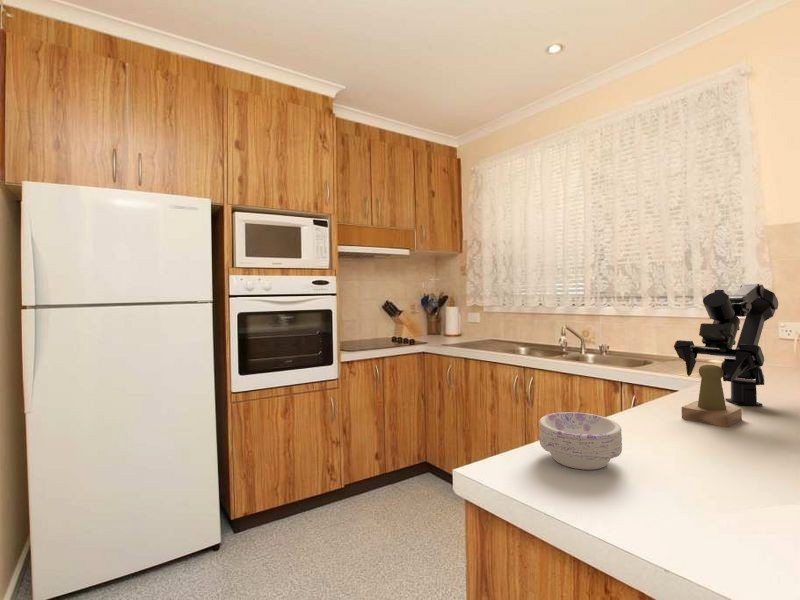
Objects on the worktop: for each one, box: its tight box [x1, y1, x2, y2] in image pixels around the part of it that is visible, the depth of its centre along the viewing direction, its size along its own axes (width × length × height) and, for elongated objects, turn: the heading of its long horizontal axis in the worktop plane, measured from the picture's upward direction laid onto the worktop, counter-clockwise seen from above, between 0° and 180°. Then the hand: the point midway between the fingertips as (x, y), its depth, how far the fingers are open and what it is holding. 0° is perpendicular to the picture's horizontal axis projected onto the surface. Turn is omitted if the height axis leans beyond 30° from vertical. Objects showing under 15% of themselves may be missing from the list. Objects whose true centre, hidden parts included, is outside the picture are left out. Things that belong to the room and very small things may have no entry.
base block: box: [681, 400, 743, 428], centre depth 109 cm, size 10×10×3 cm
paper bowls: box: [538, 411, 623, 471], centre depth 84 cm, size 15×15×8 cm
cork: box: [697, 364, 727, 411], centre depth 109 cm, size 6×6×11 cm
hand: (708, 377), depth 108 cm, fingers open, 9 cm apart
